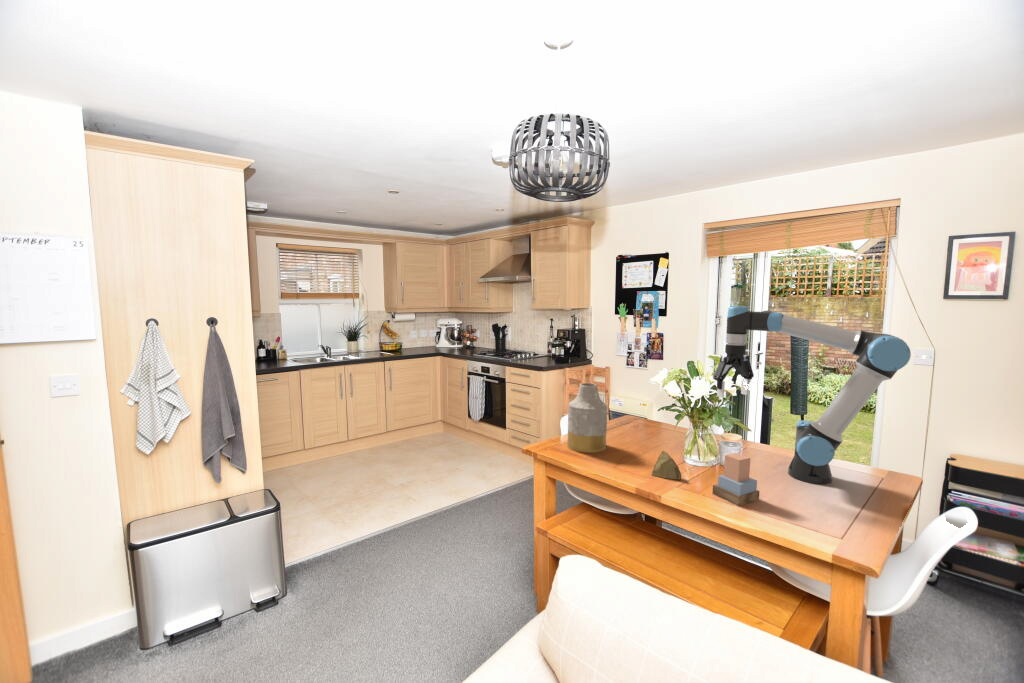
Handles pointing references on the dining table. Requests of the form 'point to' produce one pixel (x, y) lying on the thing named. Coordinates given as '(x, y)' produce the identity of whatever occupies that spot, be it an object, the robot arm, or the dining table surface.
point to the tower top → (737, 485)
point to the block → (736, 467)
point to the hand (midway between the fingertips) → (732, 395)
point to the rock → (666, 467)
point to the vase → (587, 421)
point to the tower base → (735, 496)
